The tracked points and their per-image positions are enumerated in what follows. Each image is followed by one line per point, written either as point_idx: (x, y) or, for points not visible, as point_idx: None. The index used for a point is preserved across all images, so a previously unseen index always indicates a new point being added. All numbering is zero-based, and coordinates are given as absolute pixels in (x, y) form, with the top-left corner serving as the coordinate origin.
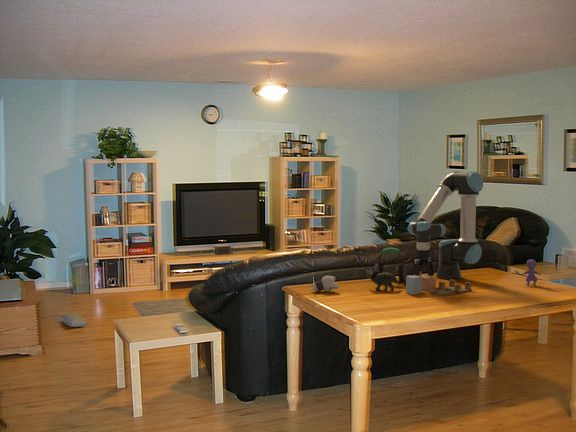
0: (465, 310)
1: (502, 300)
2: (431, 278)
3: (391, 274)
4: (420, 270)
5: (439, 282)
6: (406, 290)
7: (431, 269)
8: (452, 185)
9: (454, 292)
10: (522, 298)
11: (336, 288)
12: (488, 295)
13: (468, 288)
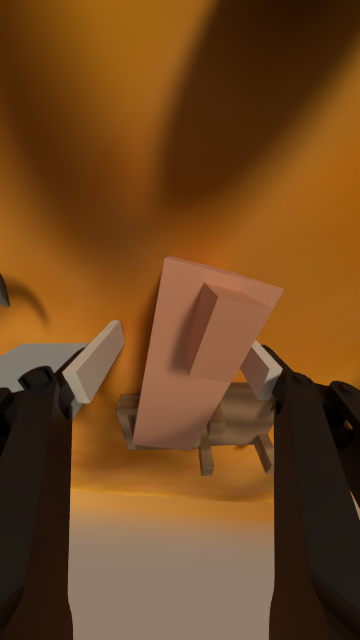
0: (71, 491)
1: (200, 487)
2: (160, 445)
3: None
4: (65, 514)
5: (210, 421)
6: (7, 355)
7: (351, 461)
8: None
9: None
10: (243, 492)
11: None
12: (228, 467)
13: (255, 444)
